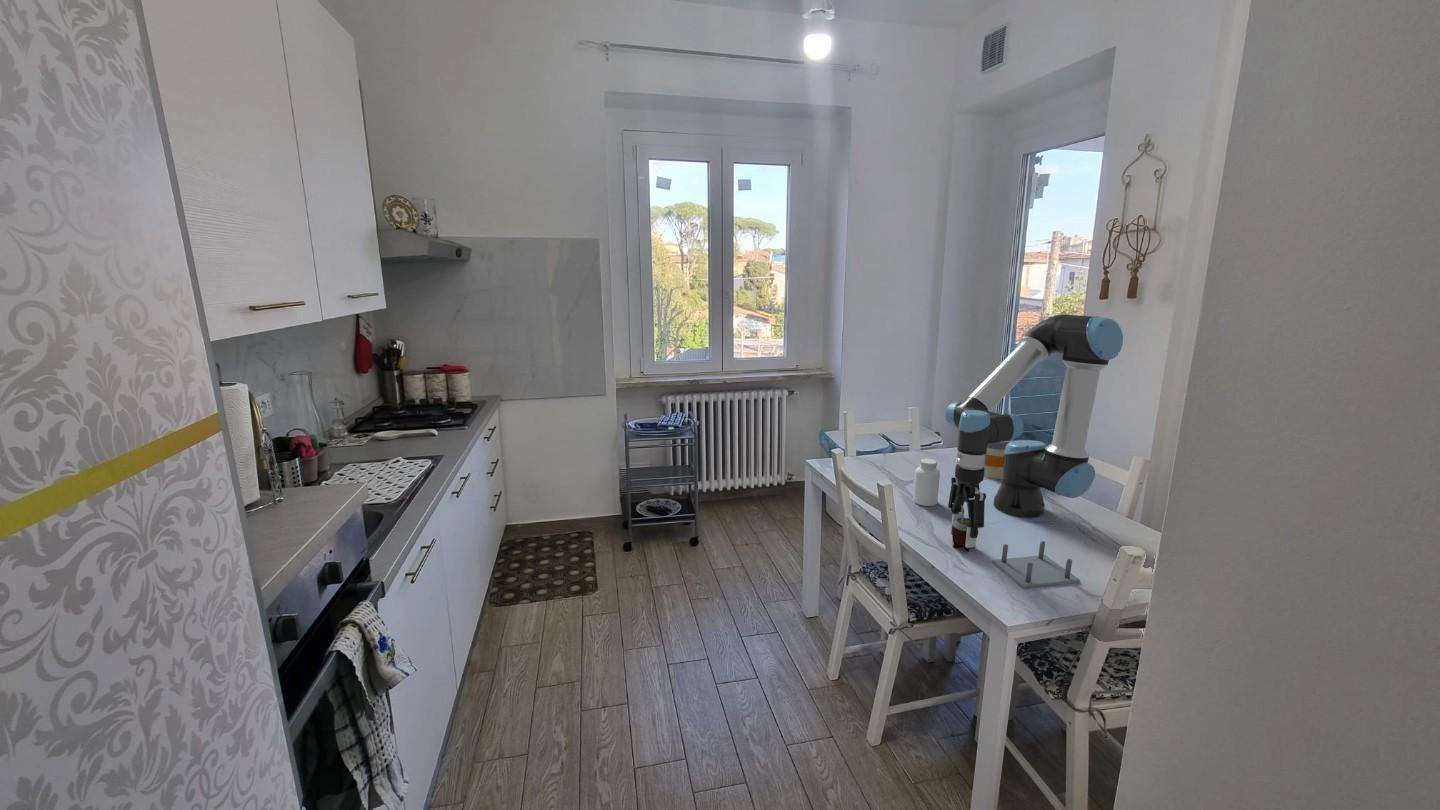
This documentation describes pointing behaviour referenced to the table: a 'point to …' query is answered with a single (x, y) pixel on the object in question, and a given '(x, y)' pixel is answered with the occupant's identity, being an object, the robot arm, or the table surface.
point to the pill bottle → (926, 483)
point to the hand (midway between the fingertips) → (962, 540)
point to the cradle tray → (1035, 569)
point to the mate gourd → (960, 532)
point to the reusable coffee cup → (995, 459)
